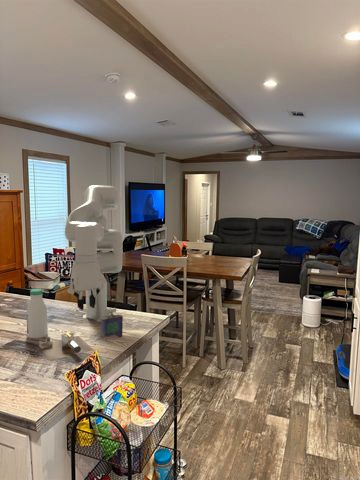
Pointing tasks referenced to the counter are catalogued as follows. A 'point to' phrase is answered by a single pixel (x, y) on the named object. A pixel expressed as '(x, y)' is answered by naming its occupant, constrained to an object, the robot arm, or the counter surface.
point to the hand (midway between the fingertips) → (86, 307)
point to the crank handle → (69, 342)
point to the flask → (112, 325)
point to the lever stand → (56, 351)
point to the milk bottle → (36, 315)
